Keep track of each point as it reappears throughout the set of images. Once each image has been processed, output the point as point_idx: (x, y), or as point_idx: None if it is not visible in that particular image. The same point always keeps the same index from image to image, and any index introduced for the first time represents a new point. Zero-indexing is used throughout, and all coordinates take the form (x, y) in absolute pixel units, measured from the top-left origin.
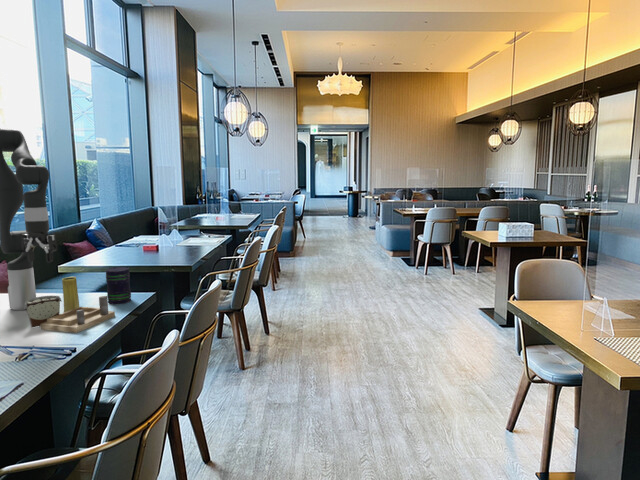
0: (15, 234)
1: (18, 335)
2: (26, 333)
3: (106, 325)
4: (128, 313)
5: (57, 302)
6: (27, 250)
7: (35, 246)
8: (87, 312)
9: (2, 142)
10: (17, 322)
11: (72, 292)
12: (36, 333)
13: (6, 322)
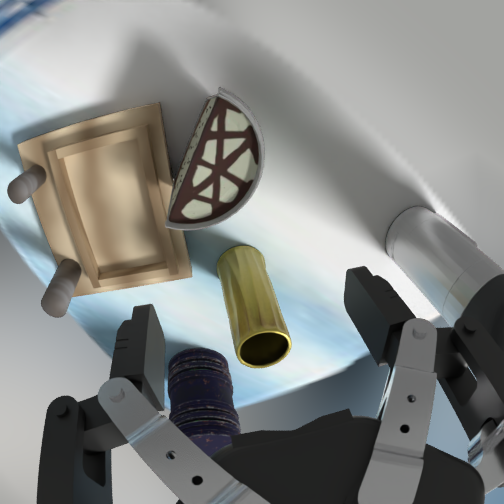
0: None
1: (173, 31)
2: (166, 54)
3: (19, 225)
4: (72, 316)
5: (171, 207)
6: (411, 332)
7: (377, 414)
8: (132, 258)
9: None
10: (312, 121)
11: (230, 306)
12: (133, 70)
13: (346, 110)
